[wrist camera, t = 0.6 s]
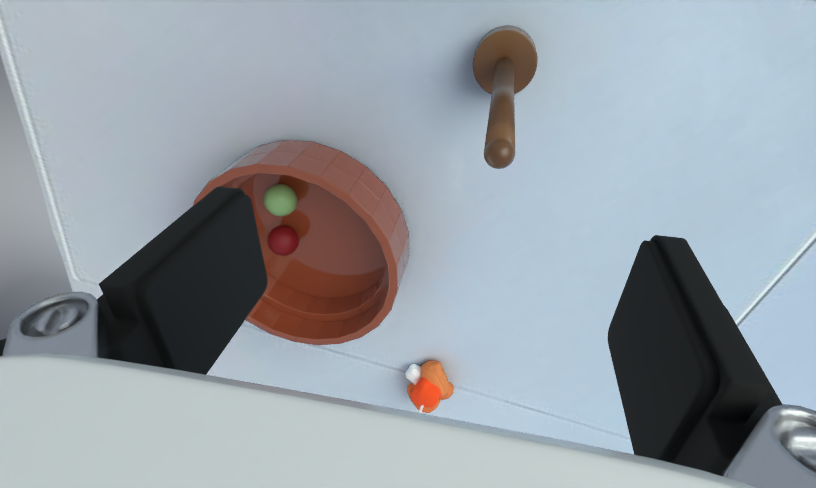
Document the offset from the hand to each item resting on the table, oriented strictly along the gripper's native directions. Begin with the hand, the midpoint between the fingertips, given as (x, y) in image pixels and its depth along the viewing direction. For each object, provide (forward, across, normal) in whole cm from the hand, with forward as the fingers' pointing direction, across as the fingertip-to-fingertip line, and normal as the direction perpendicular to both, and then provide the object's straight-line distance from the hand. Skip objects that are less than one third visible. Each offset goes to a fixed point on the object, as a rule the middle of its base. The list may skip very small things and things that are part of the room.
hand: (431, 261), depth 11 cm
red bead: (+25, +18, +18) cm, 35 cm away
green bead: (+25, +17, +14) cm, 33 cm away
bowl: (+27, +15, +18) cm, 36 cm away
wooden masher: (+27, -1, +1) cm, 27 cm away
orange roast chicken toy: (+27, +3, +38) cm, 46 cm away
